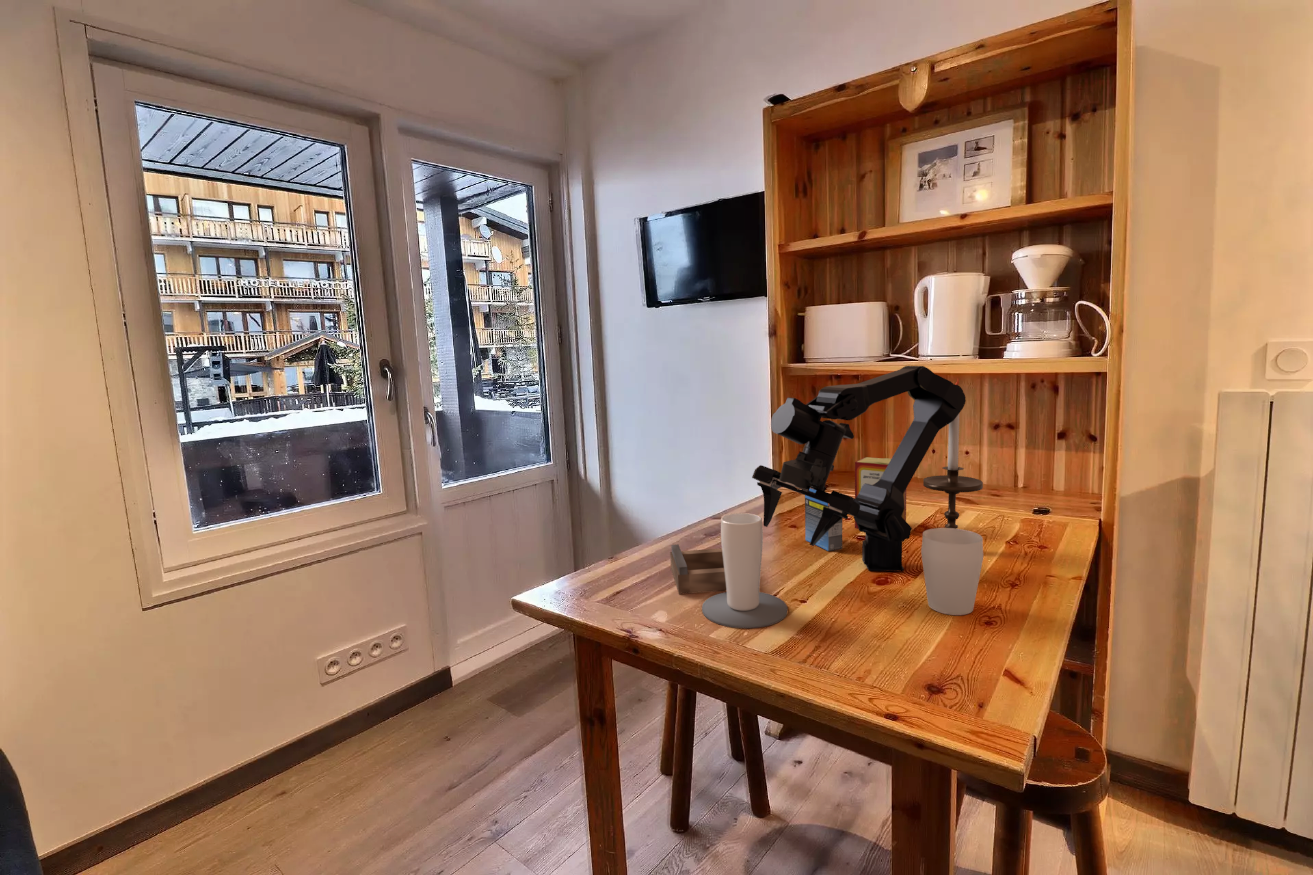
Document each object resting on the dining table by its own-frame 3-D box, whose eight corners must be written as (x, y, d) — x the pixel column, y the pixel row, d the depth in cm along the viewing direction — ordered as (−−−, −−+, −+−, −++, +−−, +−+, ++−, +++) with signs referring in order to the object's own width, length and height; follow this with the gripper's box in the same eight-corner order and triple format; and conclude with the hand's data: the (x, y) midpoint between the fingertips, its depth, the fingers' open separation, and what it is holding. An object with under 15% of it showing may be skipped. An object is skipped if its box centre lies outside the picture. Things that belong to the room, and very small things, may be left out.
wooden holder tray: (735, 564, 128) (734, 540, 128) (750, 588, 115) (750, 562, 115) (670, 568, 127) (669, 544, 127) (678, 593, 114) (677, 567, 114)
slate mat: (785, 594, 112) (785, 591, 112) (789, 629, 99) (789, 626, 99) (705, 592, 115) (705, 589, 114) (698, 626, 101) (698, 623, 101)
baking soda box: (854, 528, 149) (855, 460, 147) (865, 521, 154) (865, 455, 152) (896, 534, 143) (897, 463, 141) (905, 527, 148) (906, 458, 146)
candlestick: (993, 554, 128) (999, 377, 122) (947, 562, 125) (952, 381, 119) (953, 539, 138) (957, 375, 133) (910, 545, 135) (913, 378, 130)
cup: (978, 623, 98) (980, 547, 96) (915, 612, 103) (916, 540, 101) (984, 602, 106) (986, 531, 104) (925, 592, 110) (926, 525, 109)
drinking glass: (751, 617, 102) (750, 526, 100) (715, 608, 106) (712, 520, 104) (770, 602, 108) (769, 515, 105) (735, 594, 112) (733, 510, 109)
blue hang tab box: (843, 549, 135) (843, 491, 133) (827, 552, 133) (827, 494, 132) (819, 537, 143) (818, 483, 141) (804, 540, 142) (803, 485, 140)
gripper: (756, 427, 113) (724, 511, 112) (857, 459, 102) (822, 551, 102) (779, 442, 122) (749, 519, 121) (874, 473, 112) (842, 557, 111)
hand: (787, 535), depth 114 cm, fingers open, 9 cm apart
